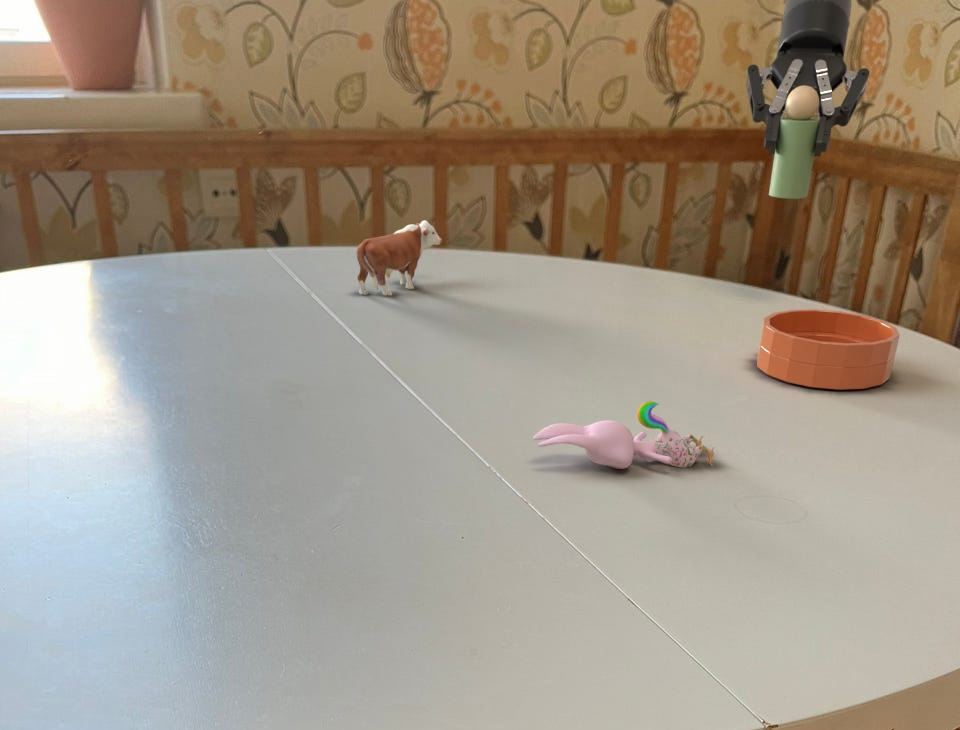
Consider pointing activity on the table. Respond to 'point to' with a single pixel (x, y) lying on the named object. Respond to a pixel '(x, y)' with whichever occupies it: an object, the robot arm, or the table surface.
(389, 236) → the bull figurine
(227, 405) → the table surface
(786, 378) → the bowl
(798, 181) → the doll
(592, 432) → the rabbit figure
